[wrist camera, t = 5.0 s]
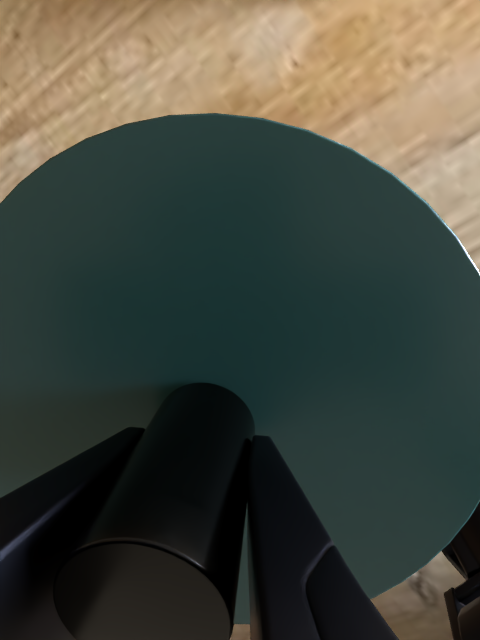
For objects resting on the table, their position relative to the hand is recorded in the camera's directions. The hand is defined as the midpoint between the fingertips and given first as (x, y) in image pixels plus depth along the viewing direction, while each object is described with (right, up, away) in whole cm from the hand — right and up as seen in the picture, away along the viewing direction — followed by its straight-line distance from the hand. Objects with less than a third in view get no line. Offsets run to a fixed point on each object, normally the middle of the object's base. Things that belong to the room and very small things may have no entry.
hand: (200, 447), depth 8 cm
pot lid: (0, 0, +1) cm, 1 cm away
